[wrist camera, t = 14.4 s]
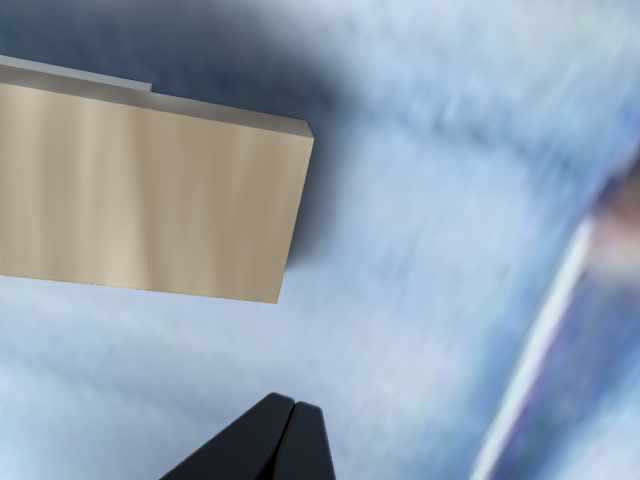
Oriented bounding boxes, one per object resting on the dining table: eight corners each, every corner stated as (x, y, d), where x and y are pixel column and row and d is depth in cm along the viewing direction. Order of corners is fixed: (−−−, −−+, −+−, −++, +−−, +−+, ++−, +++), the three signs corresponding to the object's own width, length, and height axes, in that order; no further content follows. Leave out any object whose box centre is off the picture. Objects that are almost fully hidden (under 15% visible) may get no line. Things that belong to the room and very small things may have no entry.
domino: (314, 138, 14) (-45, 74, 12) (276, 304, 16) (-31, 271, 14) (306, 120, 15) (-16, 61, 13) (272, 274, 17) (-8, 242, 15)
